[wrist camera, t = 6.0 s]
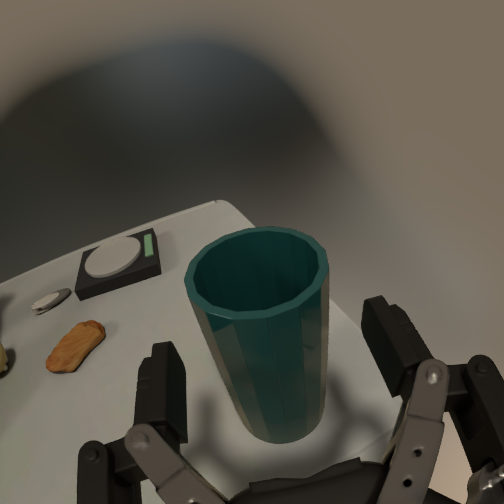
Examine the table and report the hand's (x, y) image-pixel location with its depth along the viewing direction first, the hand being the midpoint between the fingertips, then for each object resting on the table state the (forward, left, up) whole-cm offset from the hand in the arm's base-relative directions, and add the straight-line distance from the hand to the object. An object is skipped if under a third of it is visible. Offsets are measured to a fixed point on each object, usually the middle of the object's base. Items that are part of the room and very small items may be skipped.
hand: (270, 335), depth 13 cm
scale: (+12, -27, -11) cm, 32 cm away
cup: (0, -2, -11) cm, 11 cm away
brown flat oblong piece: (+17, -14, -11) cm, 25 cm away
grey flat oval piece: (+22, -24, -11) cm, 34 cm away
